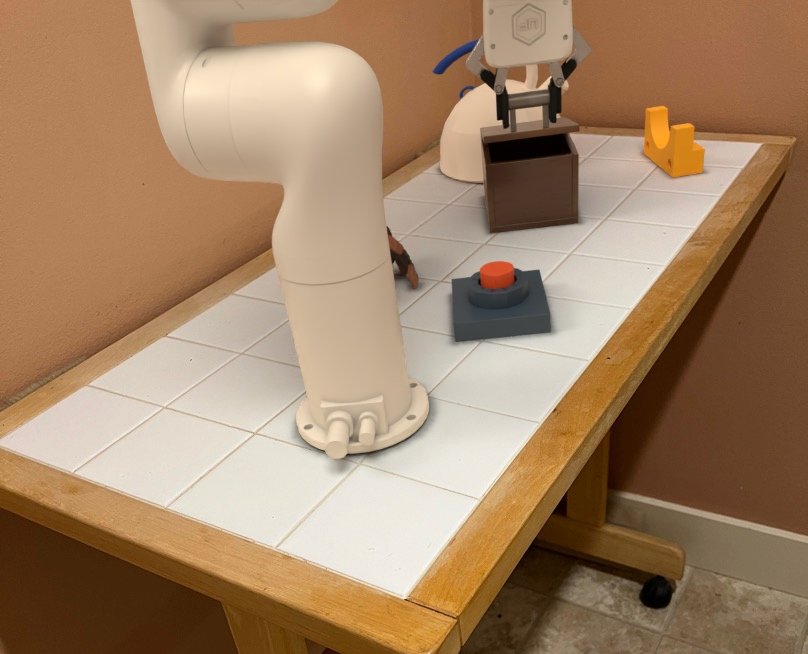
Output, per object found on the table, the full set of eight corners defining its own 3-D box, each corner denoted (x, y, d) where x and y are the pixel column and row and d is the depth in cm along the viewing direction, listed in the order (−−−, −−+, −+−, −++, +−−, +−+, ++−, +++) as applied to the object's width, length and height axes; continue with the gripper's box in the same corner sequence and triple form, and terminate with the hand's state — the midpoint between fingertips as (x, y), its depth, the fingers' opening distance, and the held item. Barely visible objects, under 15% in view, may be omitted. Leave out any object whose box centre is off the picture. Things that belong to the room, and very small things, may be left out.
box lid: (579, 131, 98) (578, 85, 96) (484, 143, 99) (481, 98, 97) (564, 123, 111) (563, 82, 109) (480, 134, 112) (477, 94, 110)
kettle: (556, 182, 119) (555, 45, 107) (423, 185, 125) (408, 56, 114) (579, 139, 133) (580, 14, 122) (458, 143, 140) (448, 25, 129)
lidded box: (578, 223, 106) (578, 153, 101) (489, 233, 107) (485, 165, 102) (565, 187, 117) (564, 123, 111) (484, 197, 118) (480, 134, 112)
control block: (550, 332, 84) (550, 297, 82) (455, 342, 86) (451, 308, 83) (539, 287, 93) (539, 254, 91) (453, 296, 94) (450, 263, 92)
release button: (515, 288, 85) (515, 273, 84) (481, 292, 86) (480, 277, 85) (513, 274, 88) (512, 259, 87) (480, 278, 89) (478, 263, 88)
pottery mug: (423, 303, 95) (381, 254, 89) (360, 336, 99) (316, 292, 94) (425, 238, 102) (386, 190, 96) (366, 272, 106) (326, 228, 101)
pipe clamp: (702, 172, 114) (707, 124, 110) (672, 177, 114) (676, 129, 110) (671, 148, 124) (674, 103, 120) (643, 153, 124) (645, 108, 120)
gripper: (448, -38, 87) (460, 139, 98) (609, -60, 86) (603, 122, 97) (448, -44, 93) (459, 123, 104) (598, -65, 92) (594, 108, 103)
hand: (528, 121), depth 100 cm, fingers closed on box lid, 5 cm apart
